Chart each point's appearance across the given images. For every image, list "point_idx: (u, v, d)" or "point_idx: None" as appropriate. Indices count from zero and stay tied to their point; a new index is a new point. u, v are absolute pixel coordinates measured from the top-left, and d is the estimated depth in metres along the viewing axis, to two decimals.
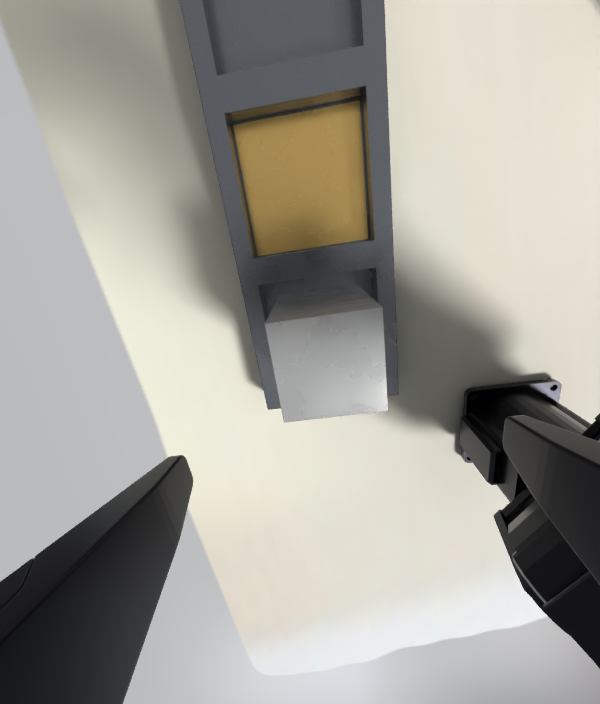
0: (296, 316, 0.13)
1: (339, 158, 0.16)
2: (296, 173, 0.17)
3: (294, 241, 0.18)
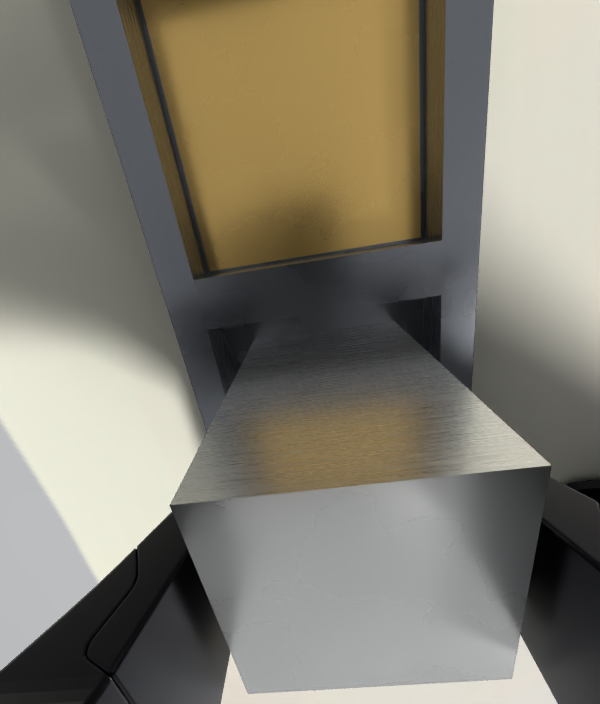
0: (271, 464, 0.04)
1: (367, 67, 0.08)
2: (278, 104, 0.08)
3: (278, 243, 0.09)
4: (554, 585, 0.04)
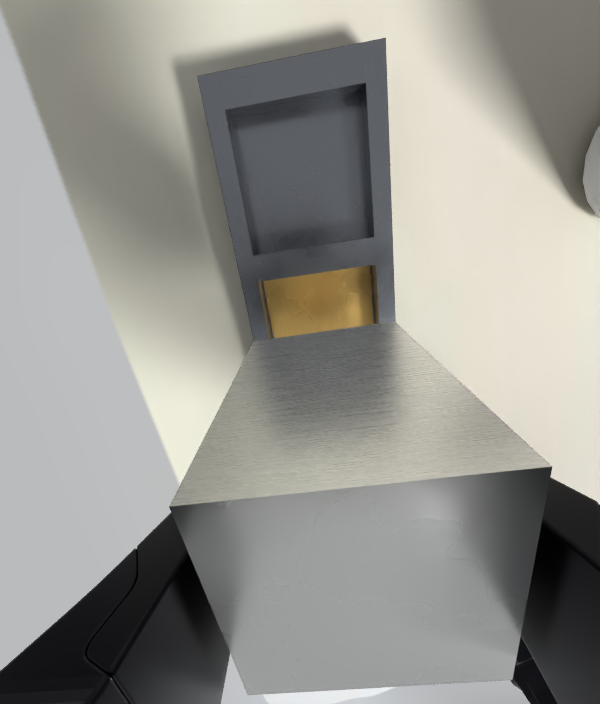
0: (271, 465, 0.04)
1: (351, 305, 0.19)
2: (315, 315, 0.20)
3: None
4: (554, 585, 0.04)
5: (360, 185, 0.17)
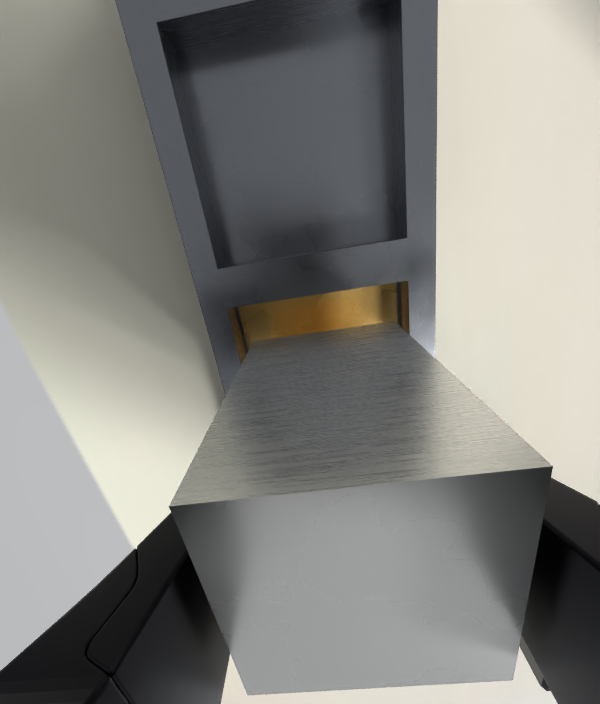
0: (271, 465, 0.04)
1: None
2: None
3: None
4: (554, 585, 0.04)
5: (383, 156, 0.11)
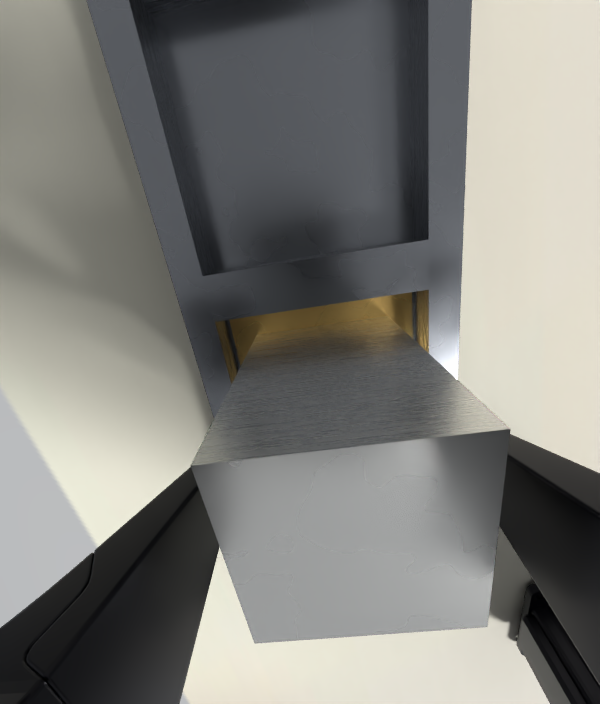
0: (276, 434, 0.05)
1: None
2: None
3: None
4: None
5: (399, 142, 0.09)
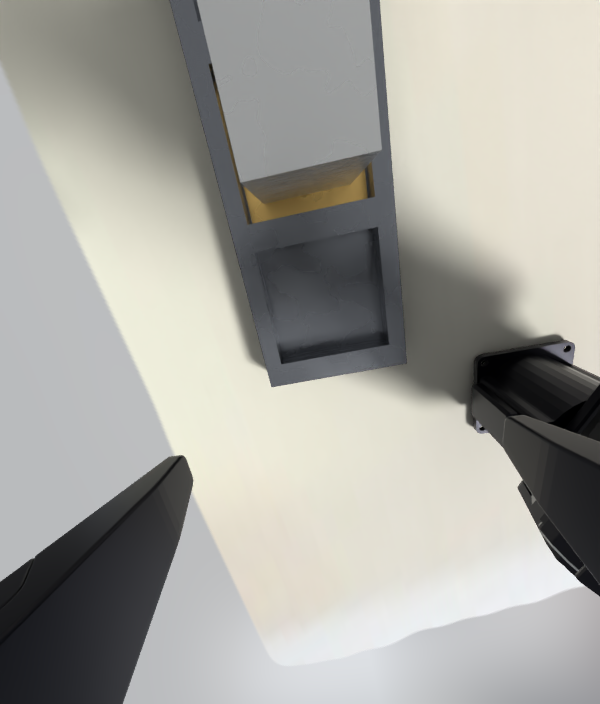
0: None
1: None
2: None
3: (290, 205, 0.17)
4: None
5: None
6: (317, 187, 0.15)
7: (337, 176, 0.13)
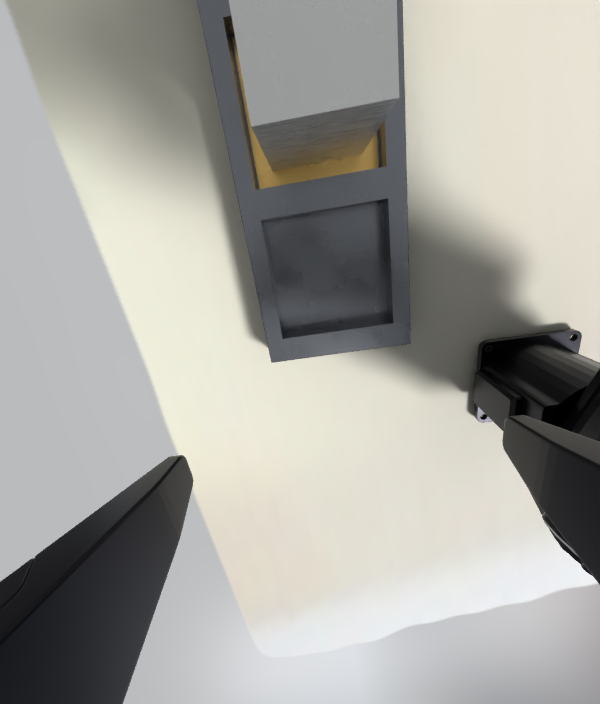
0: None
1: None
2: None
3: (299, 173, 0.17)
4: None
5: None
6: (328, 152, 0.15)
7: (350, 137, 0.13)
